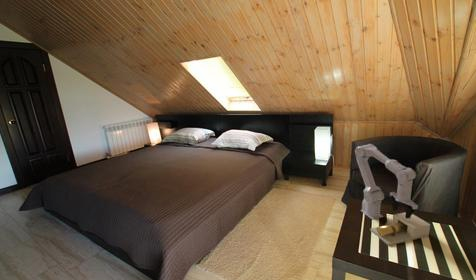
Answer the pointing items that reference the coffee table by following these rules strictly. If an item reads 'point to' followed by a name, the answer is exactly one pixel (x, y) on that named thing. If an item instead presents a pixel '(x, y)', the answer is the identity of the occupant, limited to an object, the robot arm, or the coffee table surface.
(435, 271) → the coffee table surface
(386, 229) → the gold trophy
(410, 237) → the housing
